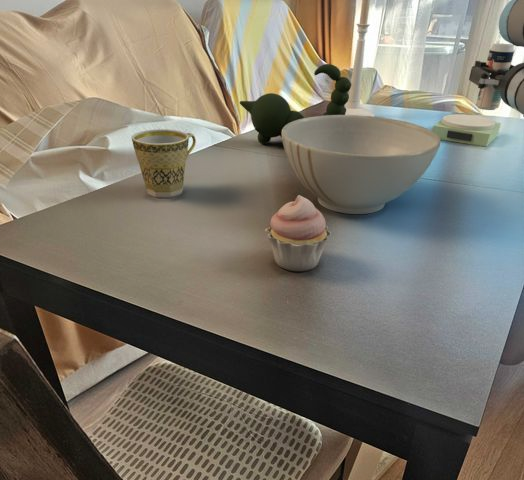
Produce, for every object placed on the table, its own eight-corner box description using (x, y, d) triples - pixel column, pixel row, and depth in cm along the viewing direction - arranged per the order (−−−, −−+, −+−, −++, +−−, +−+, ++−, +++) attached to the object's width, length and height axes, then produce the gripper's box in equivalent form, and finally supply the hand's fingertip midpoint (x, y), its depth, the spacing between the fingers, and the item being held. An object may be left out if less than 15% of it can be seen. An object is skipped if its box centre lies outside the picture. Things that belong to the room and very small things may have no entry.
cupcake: (267, 246, 78) (269, 181, 72) (327, 250, 77) (335, 185, 71) (260, 275, 70) (262, 205, 64) (327, 280, 70) (335, 210, 64)
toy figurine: (338, 151, 125) (241, 133, 128) (355, 65, 114) (248, 47, 116) (335, 162, 118) (232, 143, 120) (353, 71, 106) (238, 53, 109)
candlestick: (322, 117, 146) (333, -10, 128) (342, 109, 155) (355, -11, 137) (362, 124, 141) (379, -8, 123) (381, 116, 149) (400, -8, 131)
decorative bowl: (256, 215, 87) (257, 142, 80) (304, 170, 107) (308, 109, 100) (413, 243, 80) (430, 165, 72) (433, 189, 100) (448, 124, 92)
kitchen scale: (497, 134, 135) (502, 118, 133) (486, 147, 125) (490, 130, 123) (445, 126, 141) (448, 111, 138) (430, 138, 131) (433, 121, 128)
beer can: (478, 104, 113) (494, 42, 106) (500, 108, 111) (518, 44, 104) (472, 108, 110) (488, 44, 103) (494, 111, 108) (512, 46, 101)
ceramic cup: (161, 205, 90) (155, 147, 84) (127, 191, 95) (120, 135, 89) (214, 188, 98) (212, 133, 92) (180, 175, 103) (177, 123, 97)
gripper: (472, 109, 94) (443, 86, 113) (569, 112, 94) (523, 88, 113) (484, 63, 90) (451, 47, 109) (585, 66, 89) (535, 49, 108)
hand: (488, 68), depth 110 cm, fingers closed on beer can, 5 cm apart
